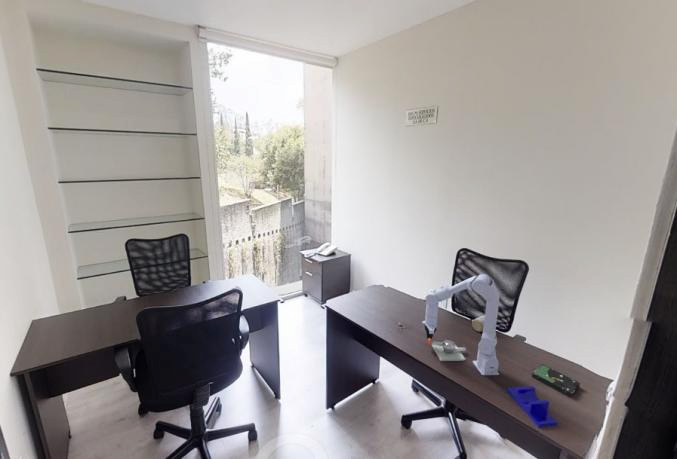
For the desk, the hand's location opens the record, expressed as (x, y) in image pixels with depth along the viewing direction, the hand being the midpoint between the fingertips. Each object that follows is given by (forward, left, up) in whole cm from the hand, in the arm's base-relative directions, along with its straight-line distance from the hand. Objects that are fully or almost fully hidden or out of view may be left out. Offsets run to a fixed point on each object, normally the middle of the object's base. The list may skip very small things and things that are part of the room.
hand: (429, 338), depth 157 cm
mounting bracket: (-41, -27, -5) cm, 49 cm away
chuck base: (-6, -9, -4) cm, 12 cm away
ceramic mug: (+13, -36, -4) cm, 38 cm away
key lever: (-5, -4, -1) cm, 7 cm away
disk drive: (-27, -47, -5) cm, 54 cm away
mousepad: (+17, +7, -5) cm, 19 cm away
